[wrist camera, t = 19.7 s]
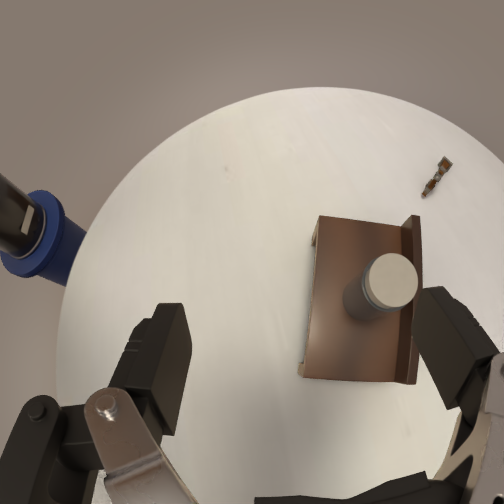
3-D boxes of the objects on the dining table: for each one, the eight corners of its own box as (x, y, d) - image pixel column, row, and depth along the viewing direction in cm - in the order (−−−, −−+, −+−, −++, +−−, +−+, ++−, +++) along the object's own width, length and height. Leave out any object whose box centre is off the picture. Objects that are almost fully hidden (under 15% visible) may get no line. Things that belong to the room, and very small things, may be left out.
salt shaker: (340, 319, 28) (364, 307, 20) (343, 274, 29) (367, 246, 21) (383, 322, 27) (419, 311, 20) (385, 278, 29) (420, 253, 21)
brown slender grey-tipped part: (416, 193, 37) (434, 169, 33) (429, 175, 41) (444, 154, 38) (426, 202, 36) (445, 179, 33) (438, 183, 41) (453, 163, 37)
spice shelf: (297, 373, 32) (306, 380, 23) (312, 236, 37) (323, 201, 28) (382, 378, 31) (416, 384, 22) (390, 245, 36) (420, 216, 27)
